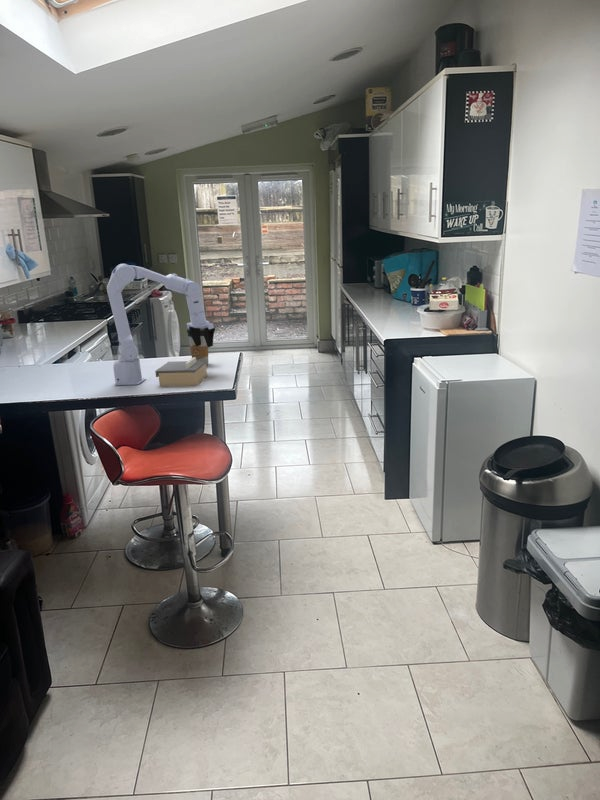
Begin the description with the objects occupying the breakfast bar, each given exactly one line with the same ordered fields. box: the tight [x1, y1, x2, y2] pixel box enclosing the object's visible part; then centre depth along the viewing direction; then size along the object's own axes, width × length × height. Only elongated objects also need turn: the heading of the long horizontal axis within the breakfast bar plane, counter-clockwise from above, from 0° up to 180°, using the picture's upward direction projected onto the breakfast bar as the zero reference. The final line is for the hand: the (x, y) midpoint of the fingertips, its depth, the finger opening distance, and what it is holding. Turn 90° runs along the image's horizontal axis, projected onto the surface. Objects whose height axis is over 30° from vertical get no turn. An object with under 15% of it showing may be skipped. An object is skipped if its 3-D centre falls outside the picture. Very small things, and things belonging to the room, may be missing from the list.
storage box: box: [158, 363, 208, 387], centre depth 228 cm, size 14×14×5 cm
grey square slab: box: [155, 357, 206, 378], centre depth 228 cm, size 15×15×4 cm
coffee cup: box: [187, 328, 209, 366], centre depth 252 cm, size 8×8×15 cm
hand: (204, 346), depth 239 cm, fingers open, 7 cm apart
